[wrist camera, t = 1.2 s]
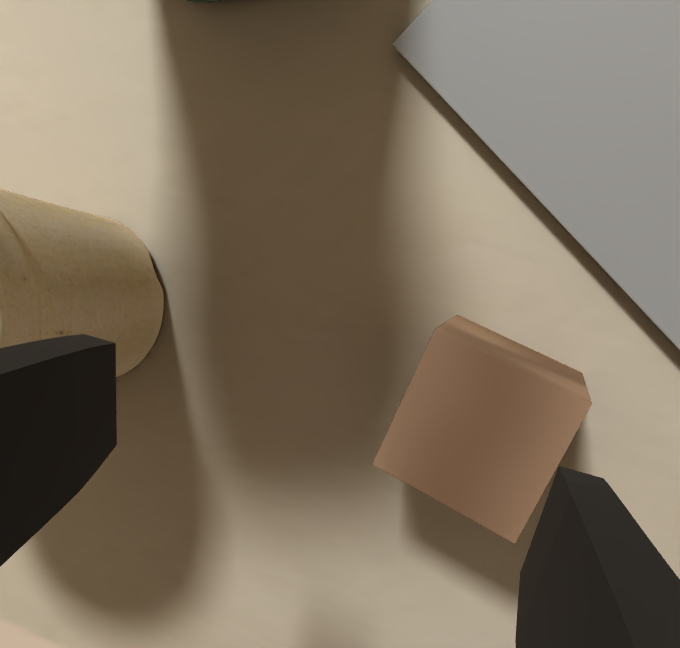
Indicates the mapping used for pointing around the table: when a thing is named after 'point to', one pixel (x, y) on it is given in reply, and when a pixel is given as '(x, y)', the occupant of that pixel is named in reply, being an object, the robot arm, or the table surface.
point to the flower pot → (75, 279)
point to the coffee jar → (204, 0)
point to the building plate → (575, 120)
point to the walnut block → (484, 425)
